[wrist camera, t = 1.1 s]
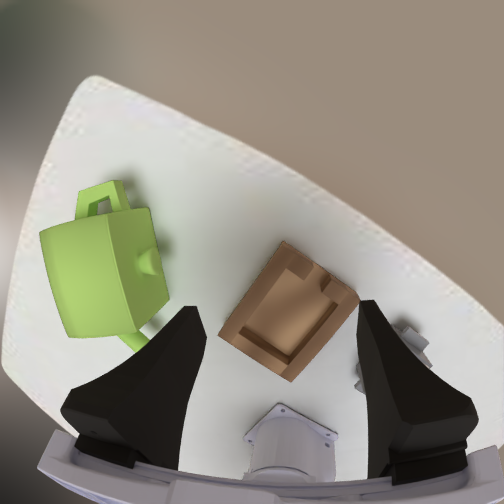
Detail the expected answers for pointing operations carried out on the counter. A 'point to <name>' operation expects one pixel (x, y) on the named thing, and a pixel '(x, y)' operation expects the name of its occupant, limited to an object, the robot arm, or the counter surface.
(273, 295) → the pocket block
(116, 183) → the gearbox
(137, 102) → the counter surface
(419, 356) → the block
